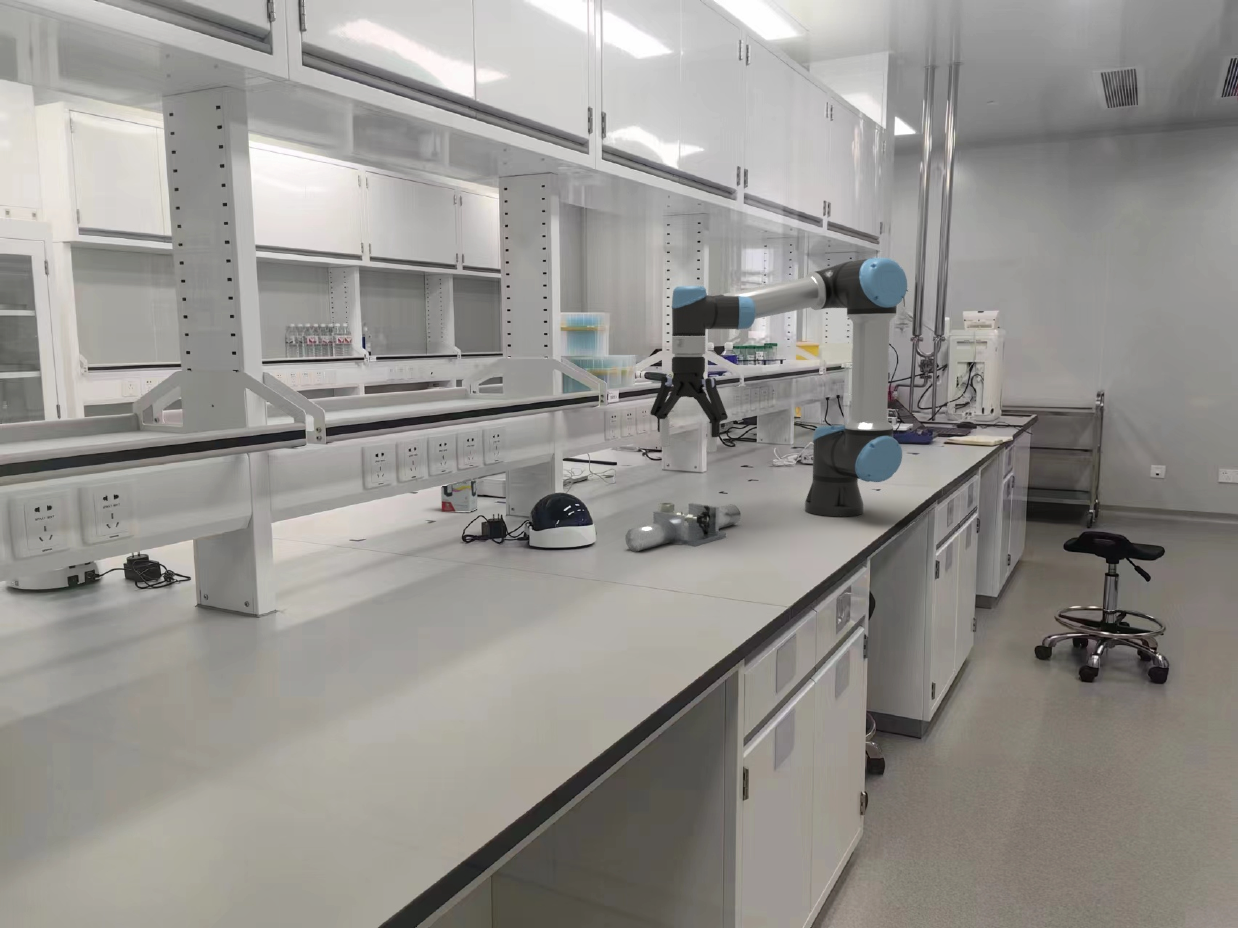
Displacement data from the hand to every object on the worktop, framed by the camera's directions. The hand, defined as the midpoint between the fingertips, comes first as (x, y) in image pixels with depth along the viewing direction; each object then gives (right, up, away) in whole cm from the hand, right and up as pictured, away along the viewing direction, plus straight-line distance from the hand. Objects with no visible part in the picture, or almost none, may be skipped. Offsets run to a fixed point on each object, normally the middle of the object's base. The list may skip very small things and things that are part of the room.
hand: (687, 449), depth 202 cm
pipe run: (0, -20, +3) cm, 21 cm away
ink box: (-58, -16, +33) cm, 69 cm away
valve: (-1, -20, +3) cm, 20 cm away
